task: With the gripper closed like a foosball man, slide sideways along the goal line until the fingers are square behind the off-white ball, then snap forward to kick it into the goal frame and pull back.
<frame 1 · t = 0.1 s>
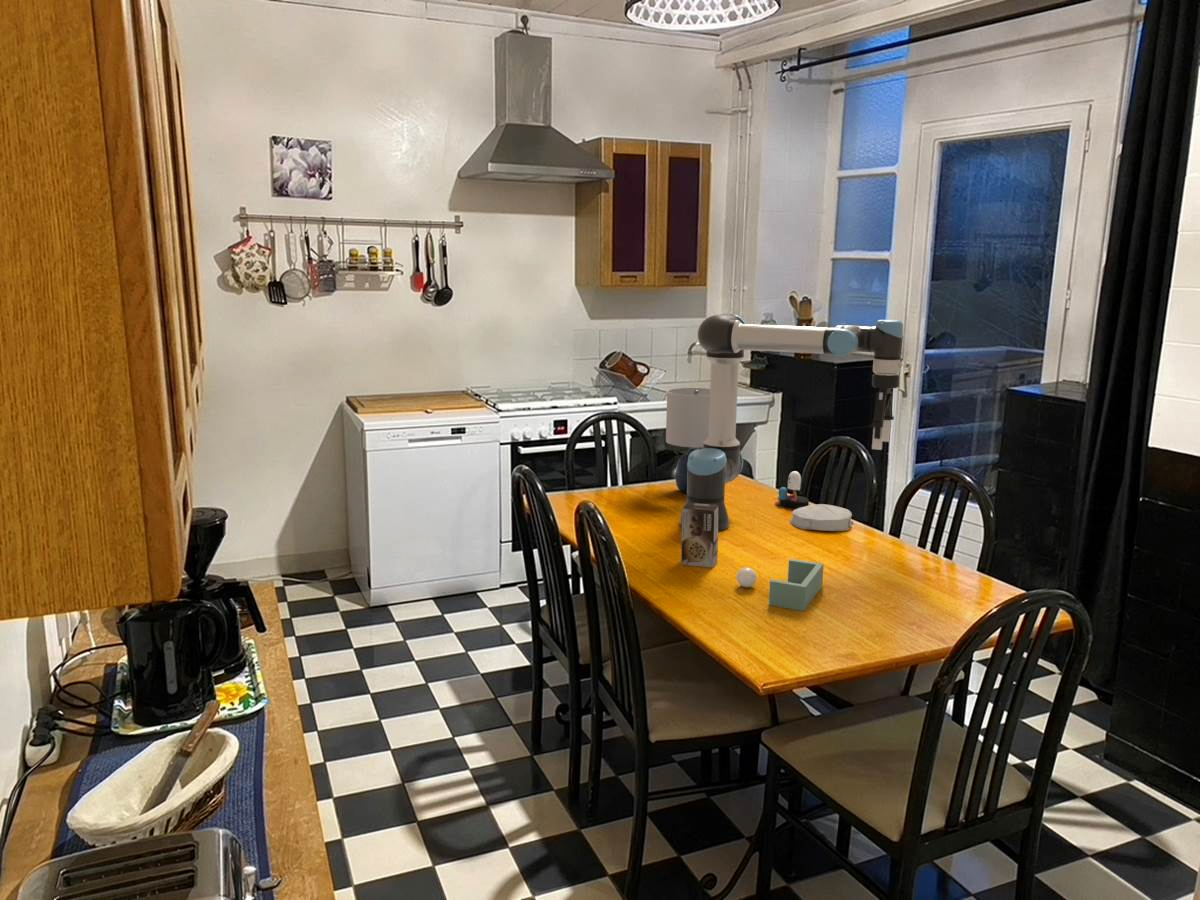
hand: (880, 445, 266), 28 cm above the table, fingers open, 13 cm apart
coffee box: (699, 563, 246), on the table
figurine: (791, 506, 306), on the table
food container: (821, 525, 285), on the table
lamp: (692, 492, 322), on the table
ball: (746, 577, 227), point 2 cm above the table
goal: (793, 594, 223), on the table
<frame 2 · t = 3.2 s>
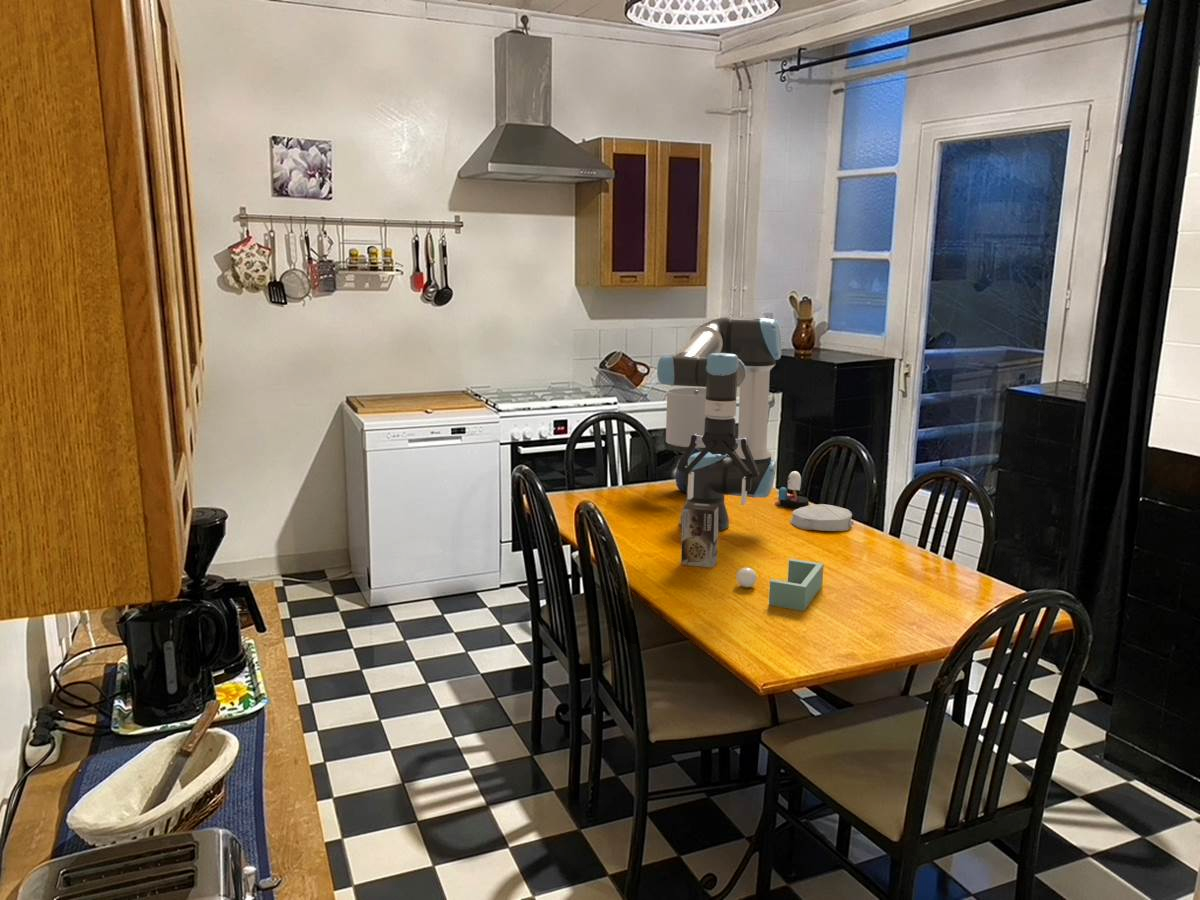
hand: (716, 501, 225), 22 cm above the table, fingers open, 13 cm apart
nothing on the table moved.
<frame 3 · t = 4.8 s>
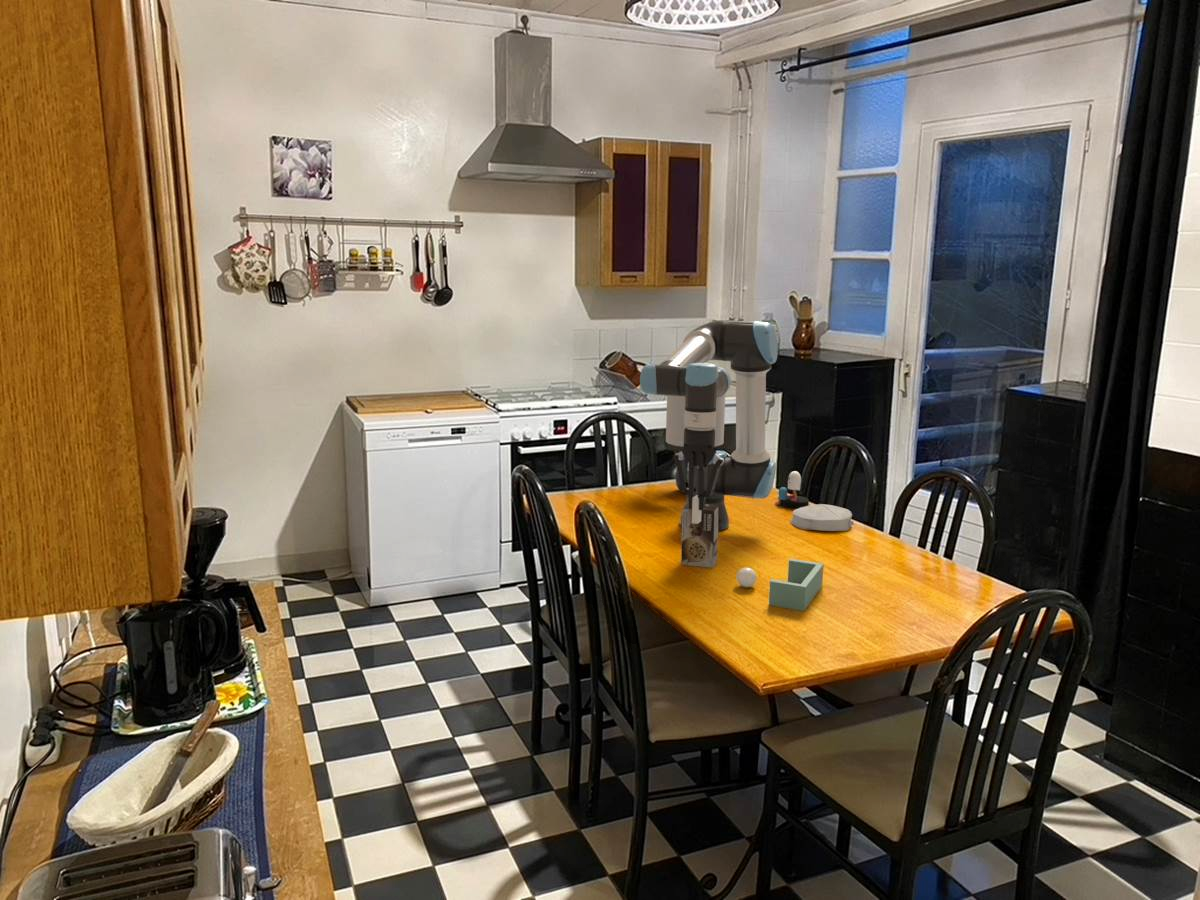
hand: (696, 522, 222), 18 cm above the table, fingers closed
nothing on the table moved.
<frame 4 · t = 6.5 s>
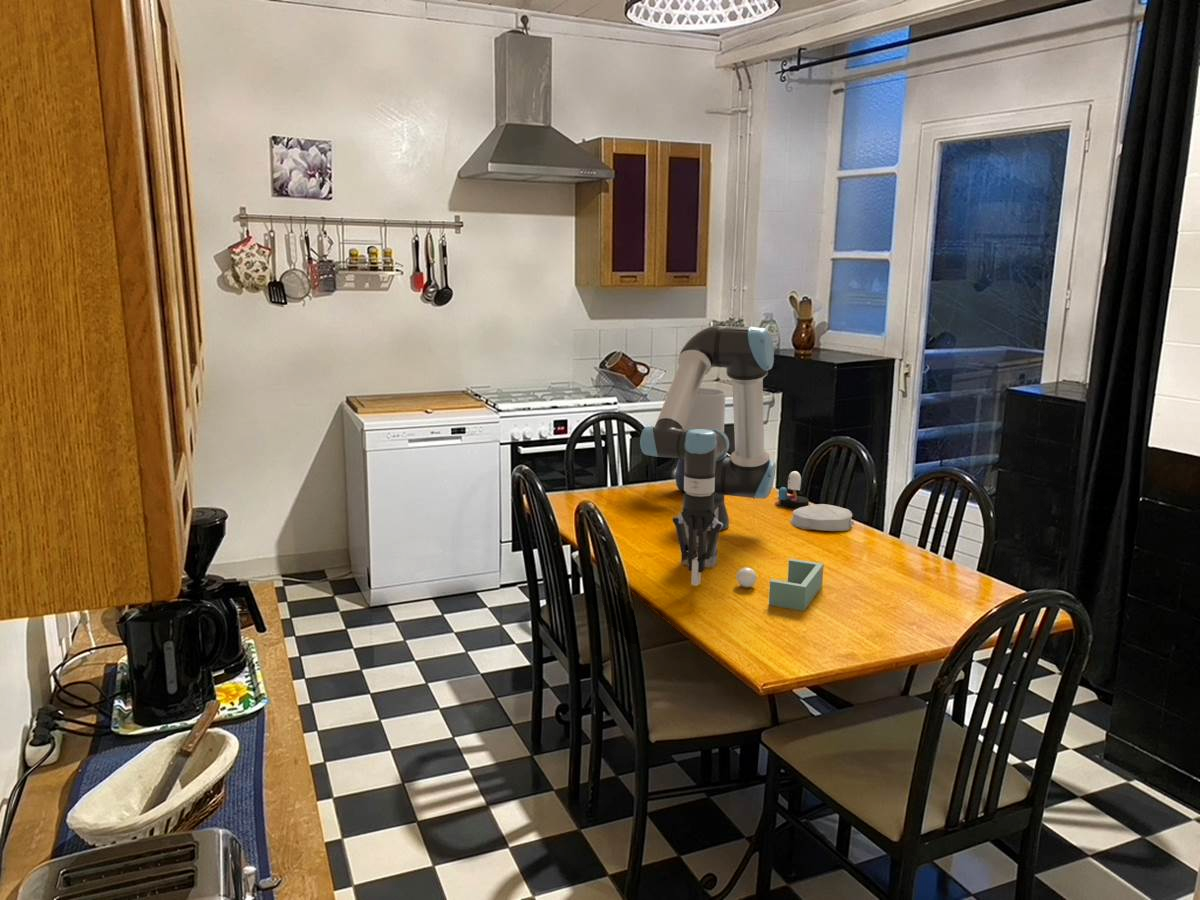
hand: (696, 583, 226), 1 cm above the table, fingers closed
nothing on the table moved.
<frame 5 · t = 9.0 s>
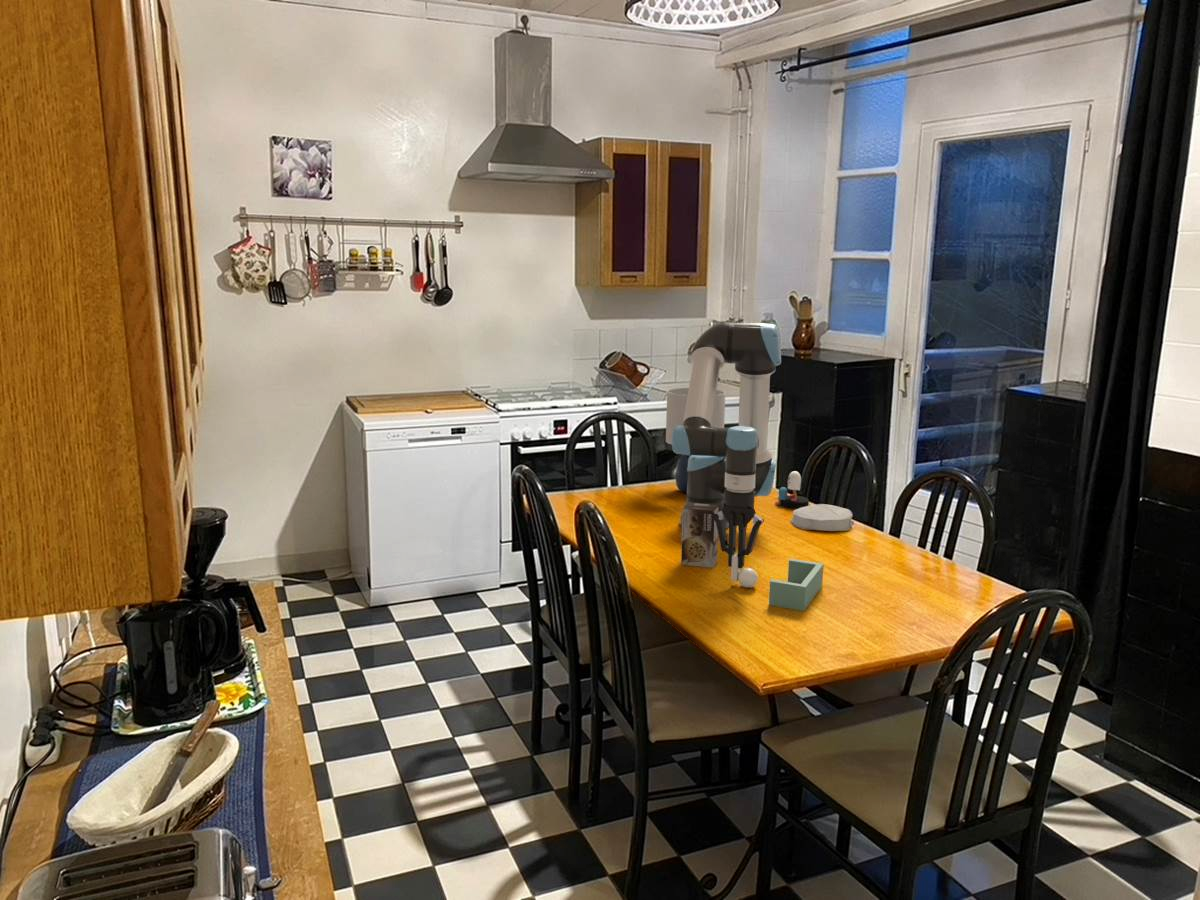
hand: (735, 579, 228), 2 cm above the table, fingers closed
ball: (747, 577, 227), point 2 cm above the table, touching gripper
everything else where it was.
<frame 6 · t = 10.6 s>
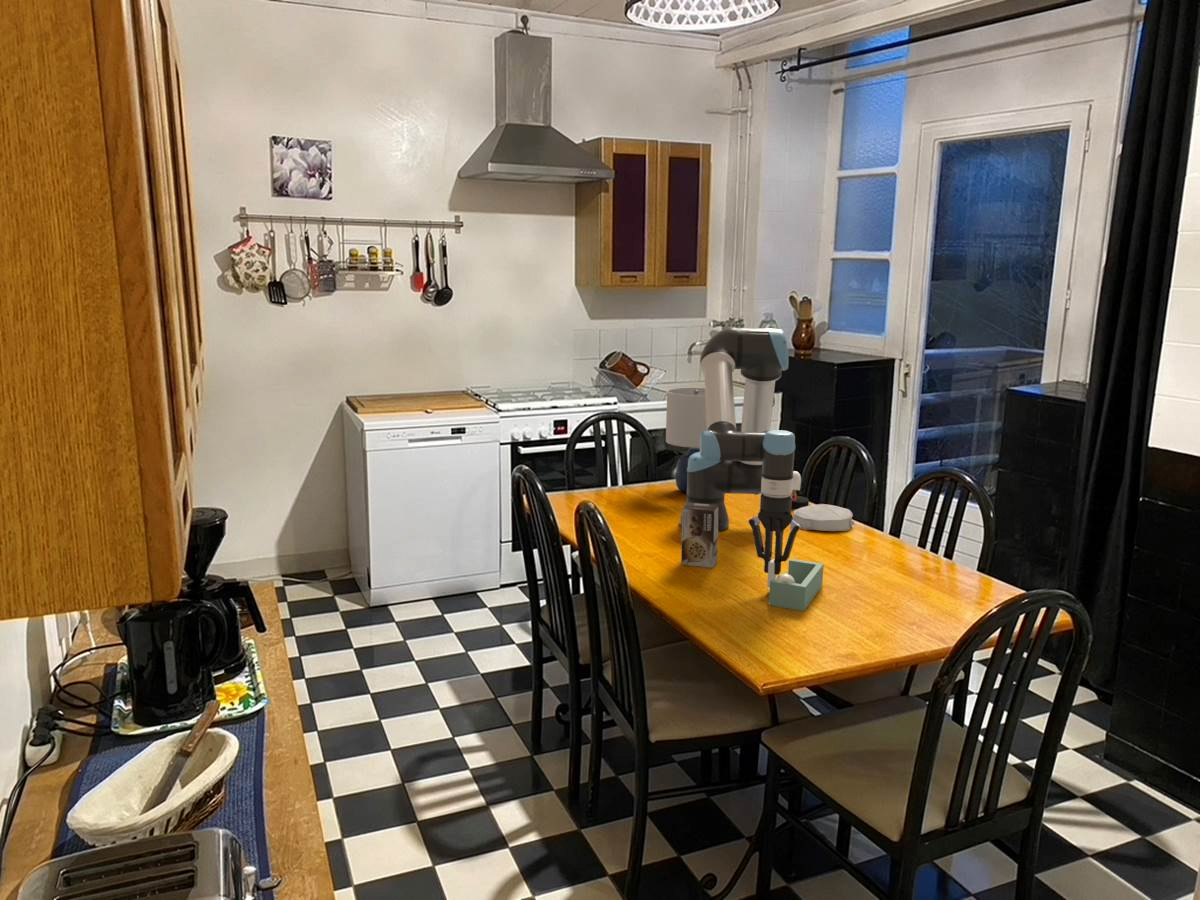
hand: (771, 585, 225), 1 cm above the table, fingers closed
ball: (785, 583, 223), point 2 cm above the table, tilted 104°
everything else where it was.
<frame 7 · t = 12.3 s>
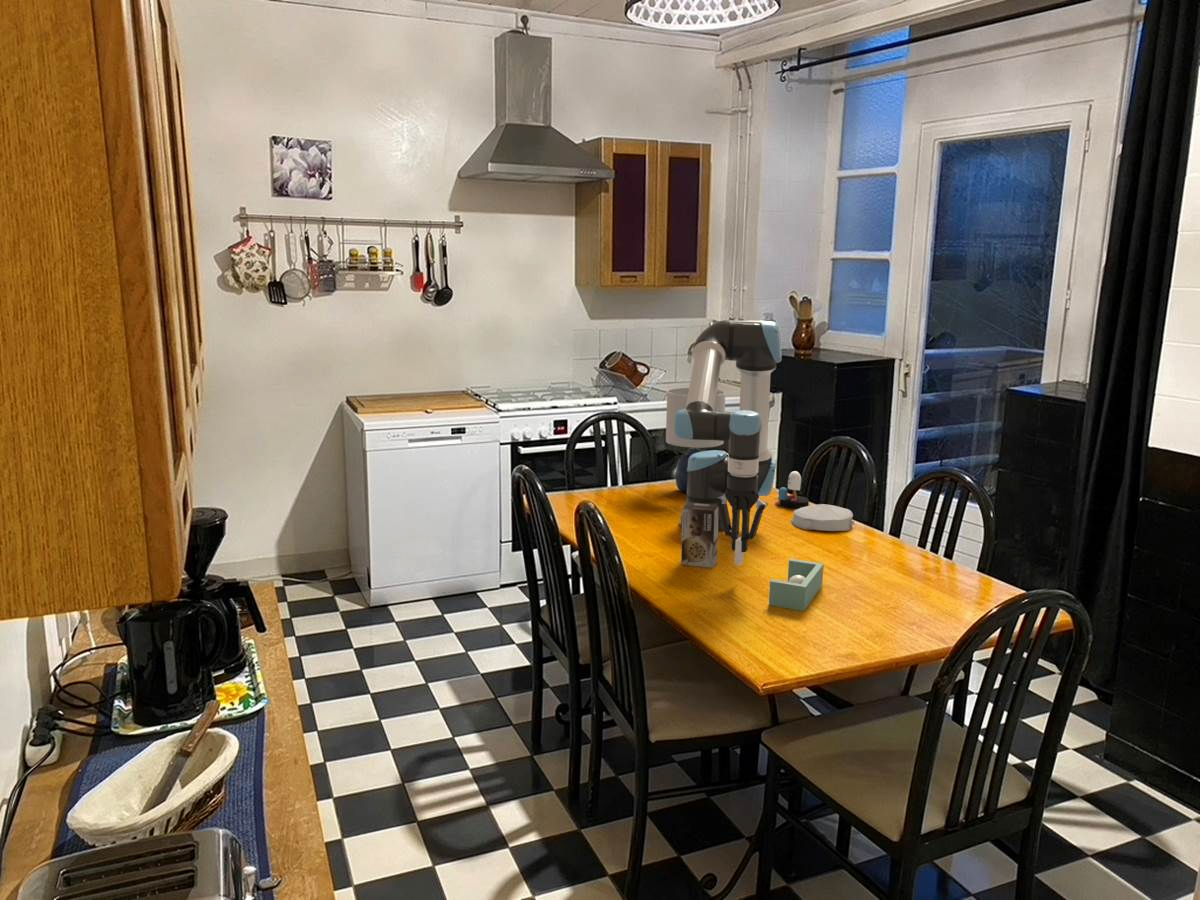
hand: (739, 563, 229), 5 cm above the table, fingers closed
ball: (798, 585, 222), point 2 cm above the table, tilted 167°
everything else where it was.
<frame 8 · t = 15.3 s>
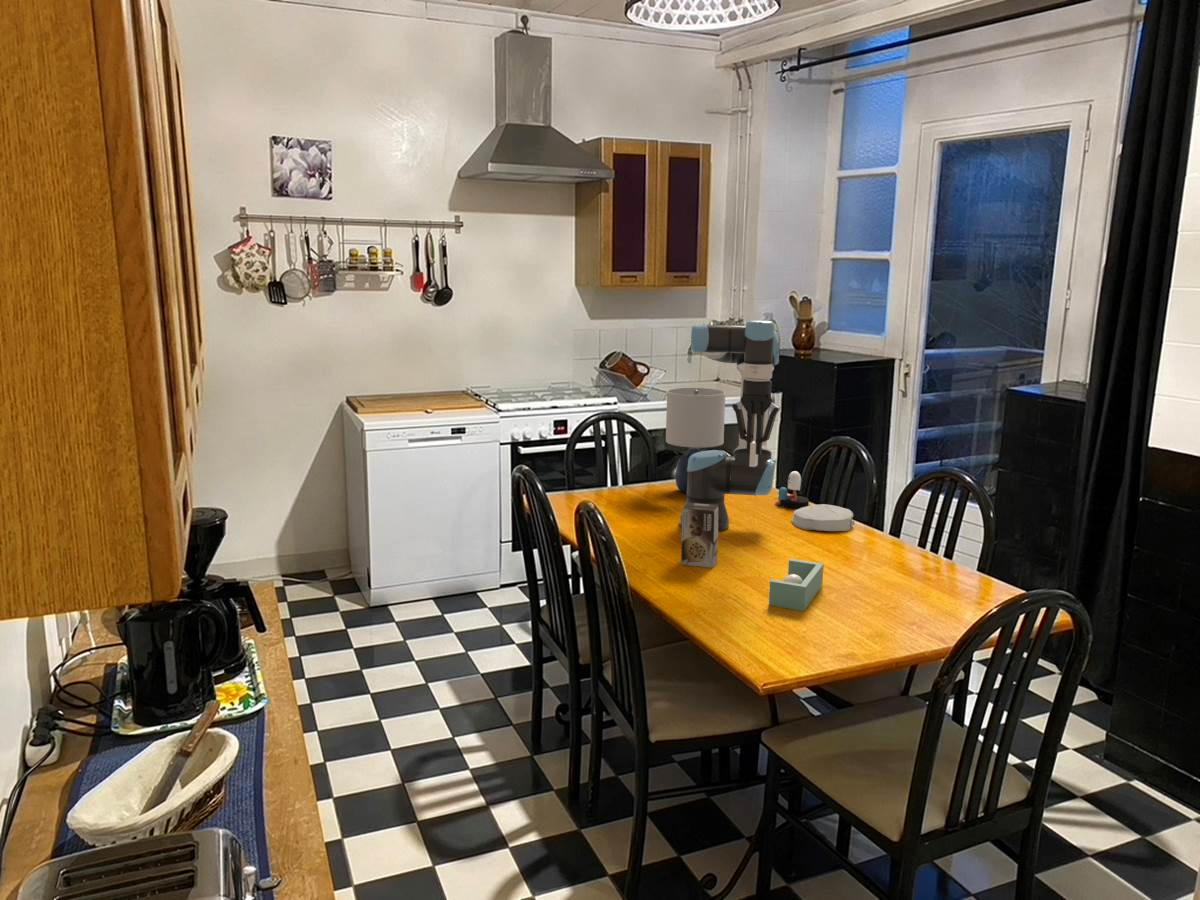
hand: (753, 465, 244), 26 cm above the table, fingers closed
ball: (793, 584, 223), point 2 cm above the table, tilted 144°
everything else where it was.
at the end: ball inside the target area (1.2 cm from its centre), point 2.5 cm above the table; ball moved 11.7 cm from its start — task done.
